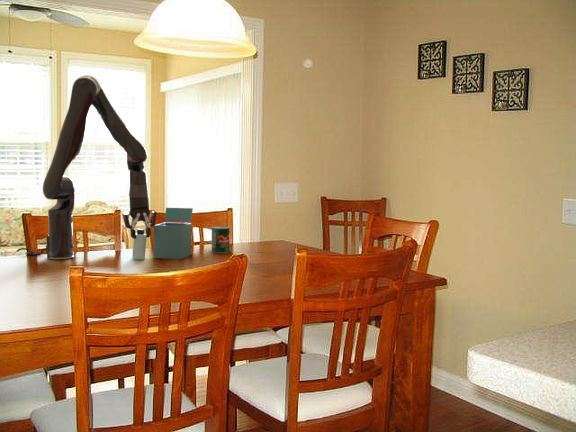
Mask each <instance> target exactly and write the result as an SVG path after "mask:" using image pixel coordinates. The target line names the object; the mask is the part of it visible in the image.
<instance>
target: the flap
mask: <svg viewBox="0 0 576 432" xmlns="http://www.w3.org/2000/svg"><path fill="white" fill-rule="evenodd" d="M193 211H194V209H193V208H192V207H191V208H190V207H165V213H164V222H181V223H191V222H192V218H193Z"/></svg>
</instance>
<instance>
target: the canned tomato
mask: <svg viewBox="0 0 576 432" xmlns="http://www.w3.org/2000/svg"><path fill="white" fill-rule="evenodd" d="M230 228H231V227H230V226H227V225H217V226H211V253H212V254H228V253H230Z"/></svg>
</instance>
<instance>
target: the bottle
mask: <svg viewBox="0 0 576 432" xmlns="http://www.w3.org/2000/svg"><path fill="white" fill-rule="evenodd" d="M146 251H147V235H146V233H145V229H144V228H137V229H136V239H133V243H132V256H131V258H132V259H133V260H139V261H140V260H145V259H146Z"/></svg>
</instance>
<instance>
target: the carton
mask: <svg viewBox="0 0 576 432" xmlns="http://www.w3.org/2000/svg"><path fill="white" fill-rule="evenodd" d="M190 256H192V223H191V222H167V221H164V222H161V223H158V224H155V226H153V258H154V259H163V260H164V259H167V260H183V259H185V258H187V257H190Z"/></svg>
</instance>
